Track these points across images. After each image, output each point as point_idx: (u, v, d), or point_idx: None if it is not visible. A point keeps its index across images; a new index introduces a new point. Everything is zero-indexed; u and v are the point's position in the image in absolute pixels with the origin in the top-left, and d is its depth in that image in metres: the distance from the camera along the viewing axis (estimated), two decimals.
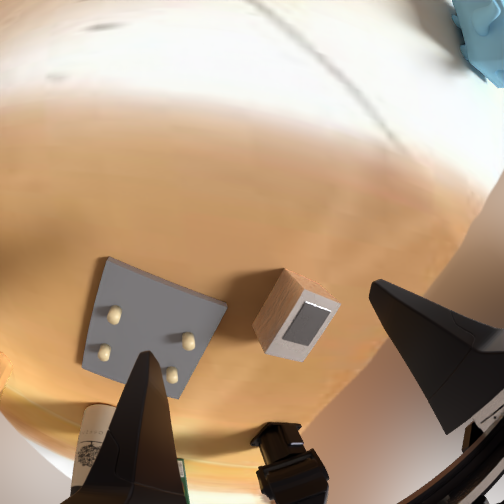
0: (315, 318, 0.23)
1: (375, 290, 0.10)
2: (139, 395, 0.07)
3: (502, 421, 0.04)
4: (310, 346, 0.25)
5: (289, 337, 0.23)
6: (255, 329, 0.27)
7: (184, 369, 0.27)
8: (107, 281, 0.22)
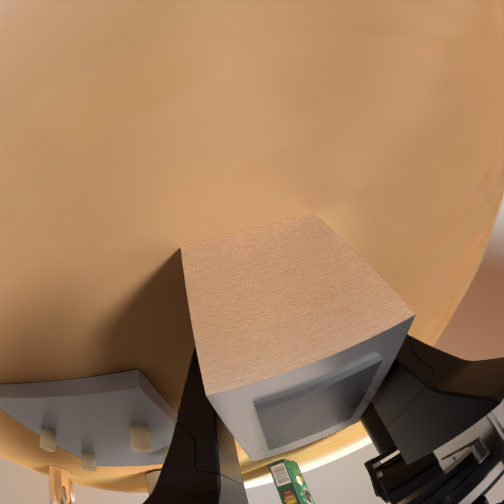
0: (333, 399, 0.06)
1: None
2: None
3: (460, 465, 0.04)
4: (359, 409, 0.08)
5: (284, 442, 0.07)
6: None
7: None
8: (10, 412, 0.09)
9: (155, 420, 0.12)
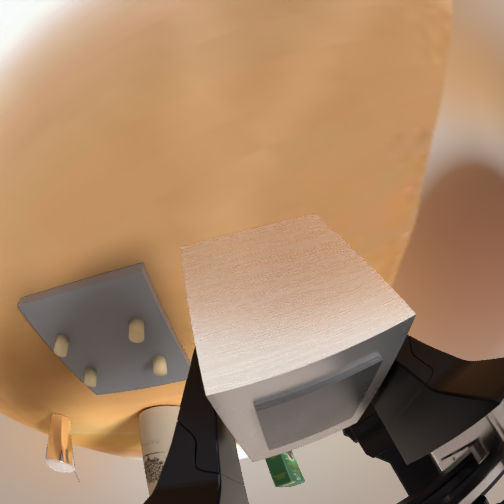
0: (333, 400, 0.06)
1: None
2: None
3: (460, 466, 0.04)
4: (359, 410, 0.08)
5: (284, 443, 0.07)
6: None
7: (169, 351, 0.22)
8: (34, 321, 0.16)
9: (149, 313, 0.19)
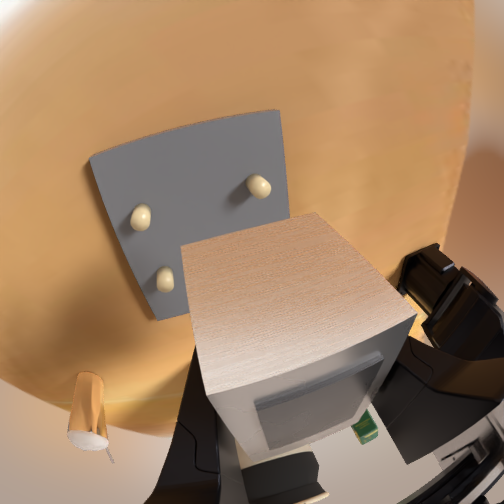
0: (334, 399, 0.06)
1: None
2: None
3: (460, 466, 0.04)
4: (360, 409, 0.08)
5: (285, 443, 0.07)
6: None
7: None
8: (106, 182, 0.14)
9: (273, 167, 0.17)
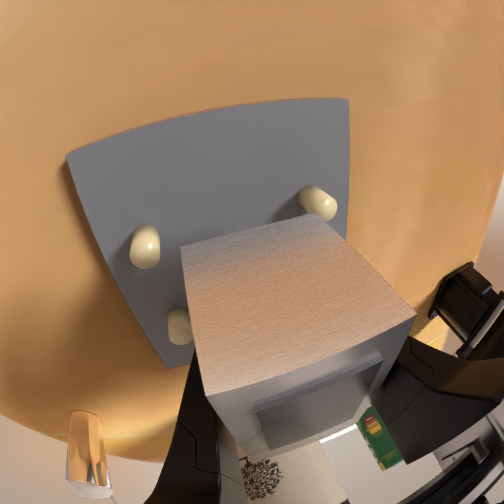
0: (334, 400, 0.06)
1: None
2: None
3: (460, 466, 0.04)
4: (360, 410, 0.08)
5: (285, 443, 0.07)
6: None
7: None
8: (92, 192, 0.09)
9: (334, 177, 0.12)
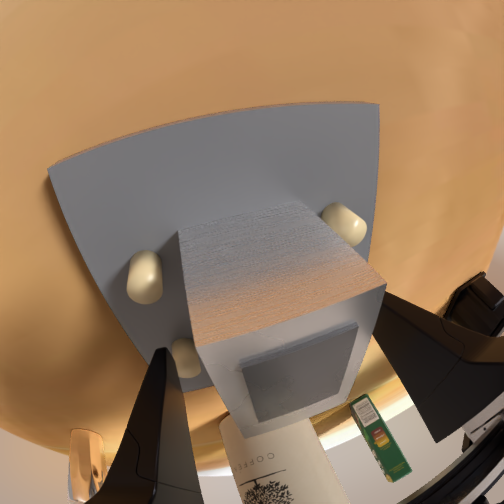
0: (315, 366, 0.07)
1: None
2: (158, 392, 0.07)
3: (492, 433, 0.04)
4: (345, 386, 0.09)
5: (273, 415, 0.08)
6: None
7: None
8: (80, 213, 0.08)
9: (361, 194, 0.10)
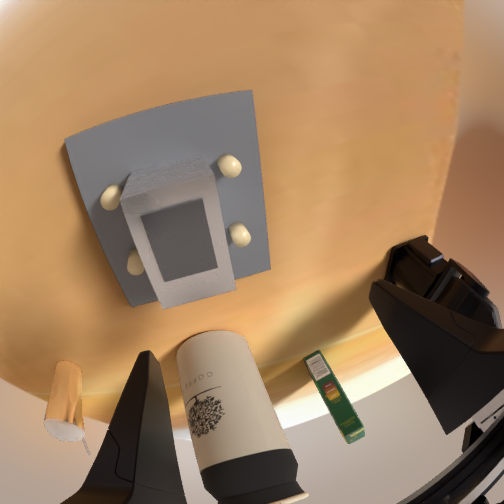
0: (183, 226, 0.13)
1: (375, 290, 0.10)
2: (139, 395, 0.07)
3: (502, 421, 0.04)
4: (224, 264, 0.15)
5: (172, 274, 0.14)
6: None
7: (252, 216, 0.19)
8: (80, 163, 0.14)
9: (245, 148, 0.16)
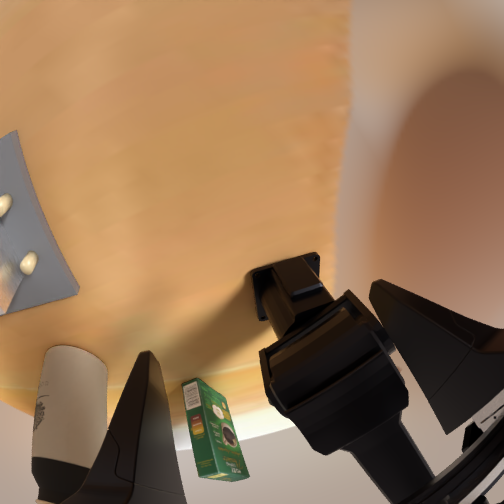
0: None
1: (375, 290, 0.10)
2: (139, 395, 0.07)
3: (502, 421, 0.04)
4: None
5: None
6: None
7: (39, 245, 0.16)
8: None
9: (15, 185, 0.13)
